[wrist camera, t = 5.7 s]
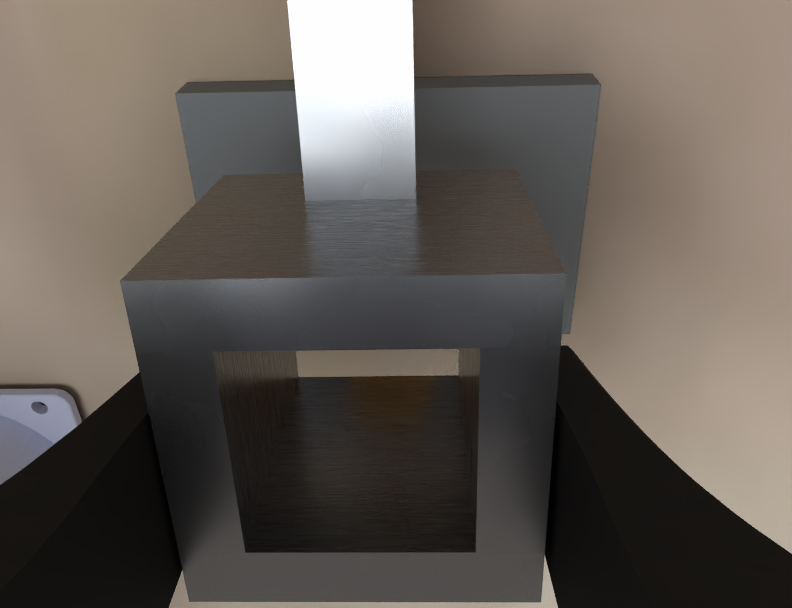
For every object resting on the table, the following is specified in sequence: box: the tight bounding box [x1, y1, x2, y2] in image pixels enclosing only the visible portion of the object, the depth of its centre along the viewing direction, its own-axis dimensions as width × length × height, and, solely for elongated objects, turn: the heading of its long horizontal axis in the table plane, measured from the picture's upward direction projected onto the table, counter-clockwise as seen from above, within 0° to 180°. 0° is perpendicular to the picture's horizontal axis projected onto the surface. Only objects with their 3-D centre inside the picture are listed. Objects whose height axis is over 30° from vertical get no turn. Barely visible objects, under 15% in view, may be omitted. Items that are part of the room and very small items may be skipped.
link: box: [120, 0, 566, 602], centre depth 11 cm, size 5×9×5 cm, turn 2°
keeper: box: [175, 74, 601, 334], centre depth 17 cm, size 10×7×4 cm
